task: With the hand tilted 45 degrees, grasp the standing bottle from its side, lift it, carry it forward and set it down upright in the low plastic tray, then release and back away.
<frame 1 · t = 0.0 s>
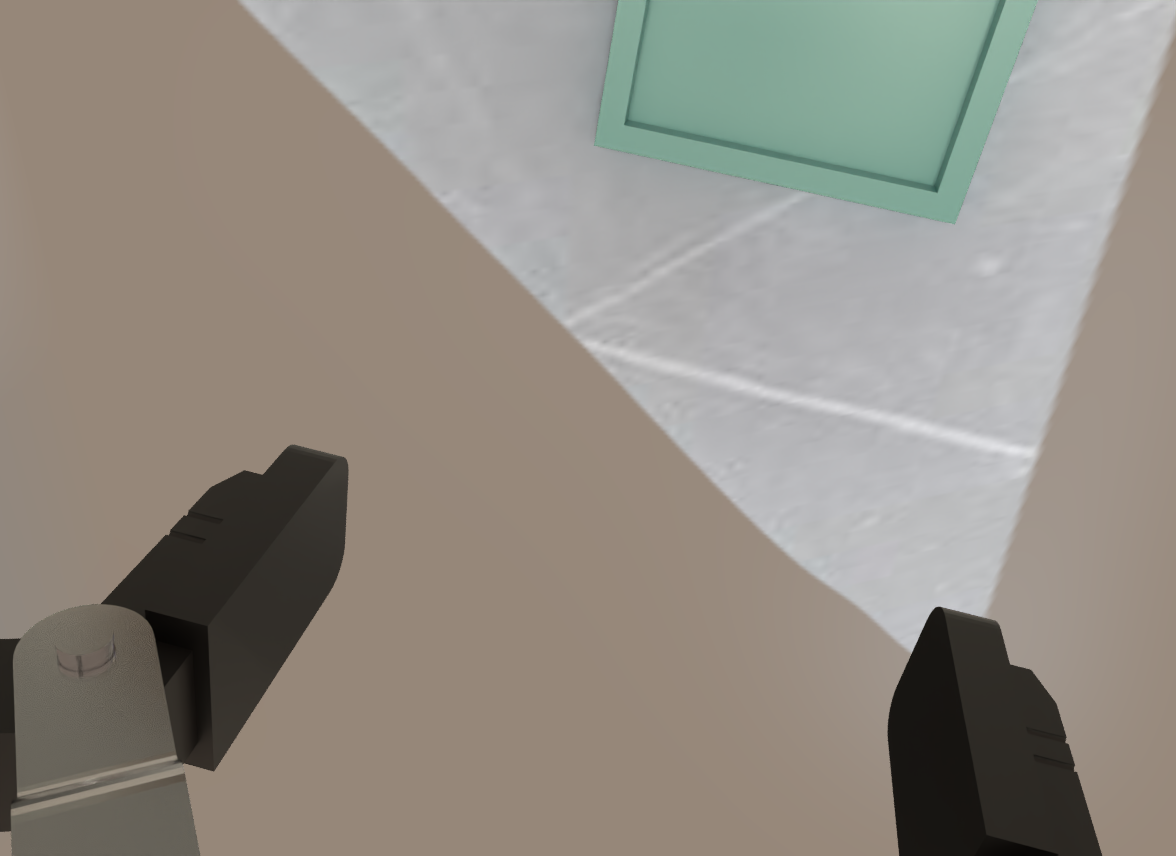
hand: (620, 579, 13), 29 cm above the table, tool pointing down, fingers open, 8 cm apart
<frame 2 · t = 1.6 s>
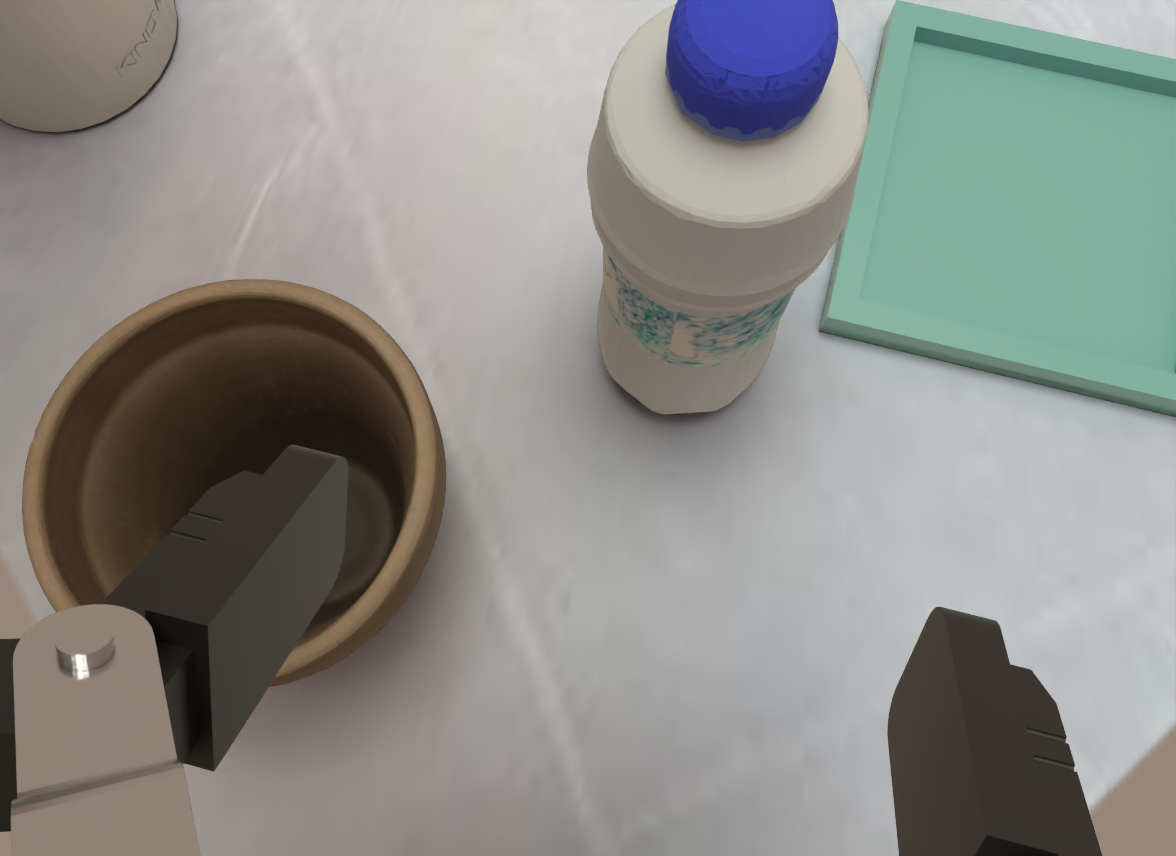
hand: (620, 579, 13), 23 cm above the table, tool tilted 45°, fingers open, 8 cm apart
tray: (1028, 210, 39), on the table
flower pot: (326, 527, 37), on the table
bottle: (679, 349, 38), on the table
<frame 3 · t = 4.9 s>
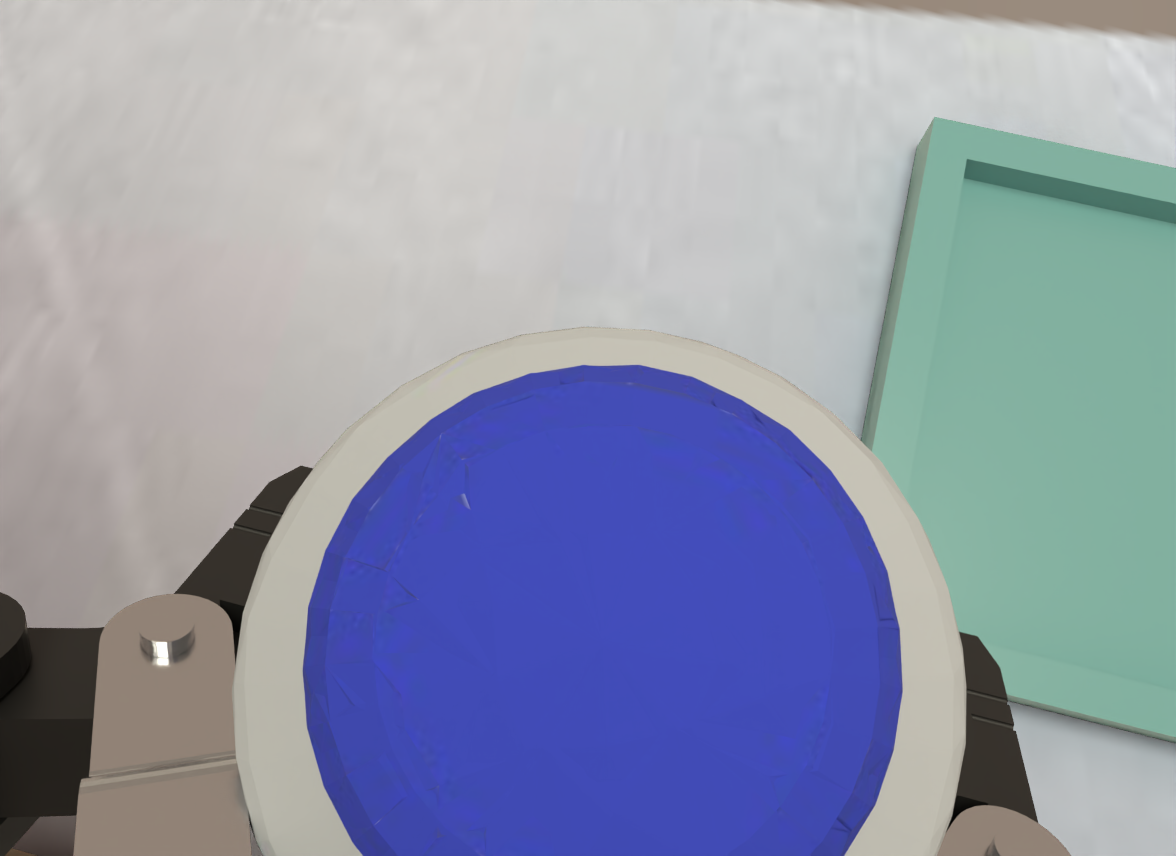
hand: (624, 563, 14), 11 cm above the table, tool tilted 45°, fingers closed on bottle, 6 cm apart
tray: (1146, 447, 25), on the table
bottle: (599, 683, 24), on the table, touching gripper
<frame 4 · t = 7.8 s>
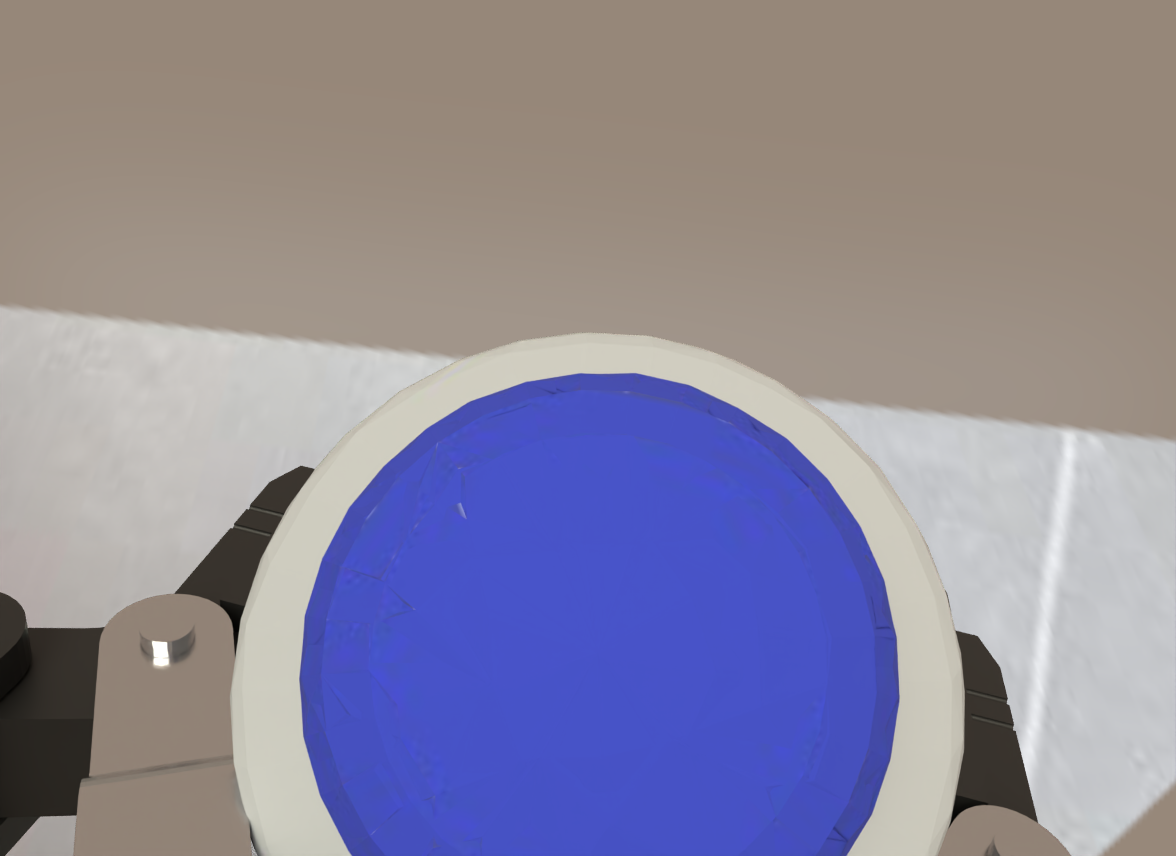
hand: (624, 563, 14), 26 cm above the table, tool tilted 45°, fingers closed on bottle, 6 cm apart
bottle: (599, 685, 24), point 15 cm above the table, touching gripper
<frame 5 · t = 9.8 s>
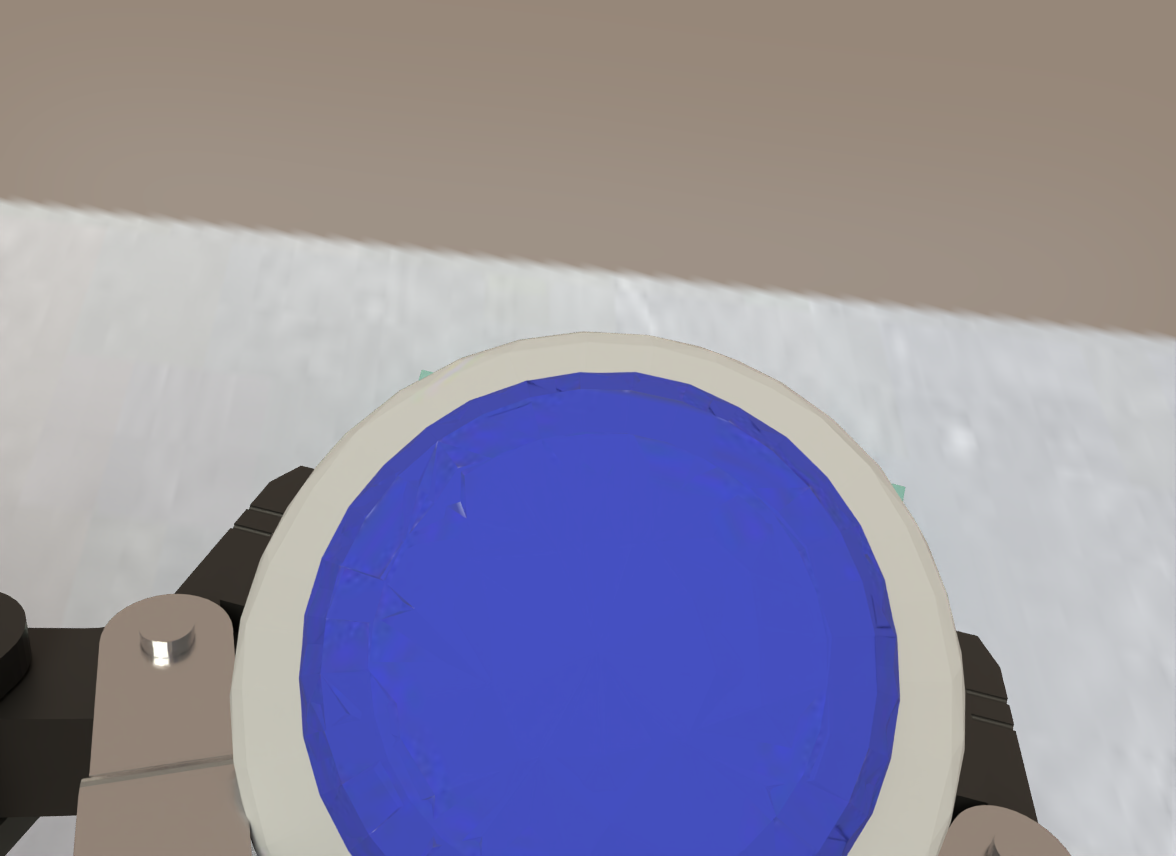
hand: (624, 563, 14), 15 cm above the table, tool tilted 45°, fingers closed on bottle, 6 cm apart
bottle: (599, 685, 24), point 4 cm above the table, touching gripper
when the fingers open (13 cm above the table, at t = 10.9 s): bottle drops 1 cm, resting on tray.
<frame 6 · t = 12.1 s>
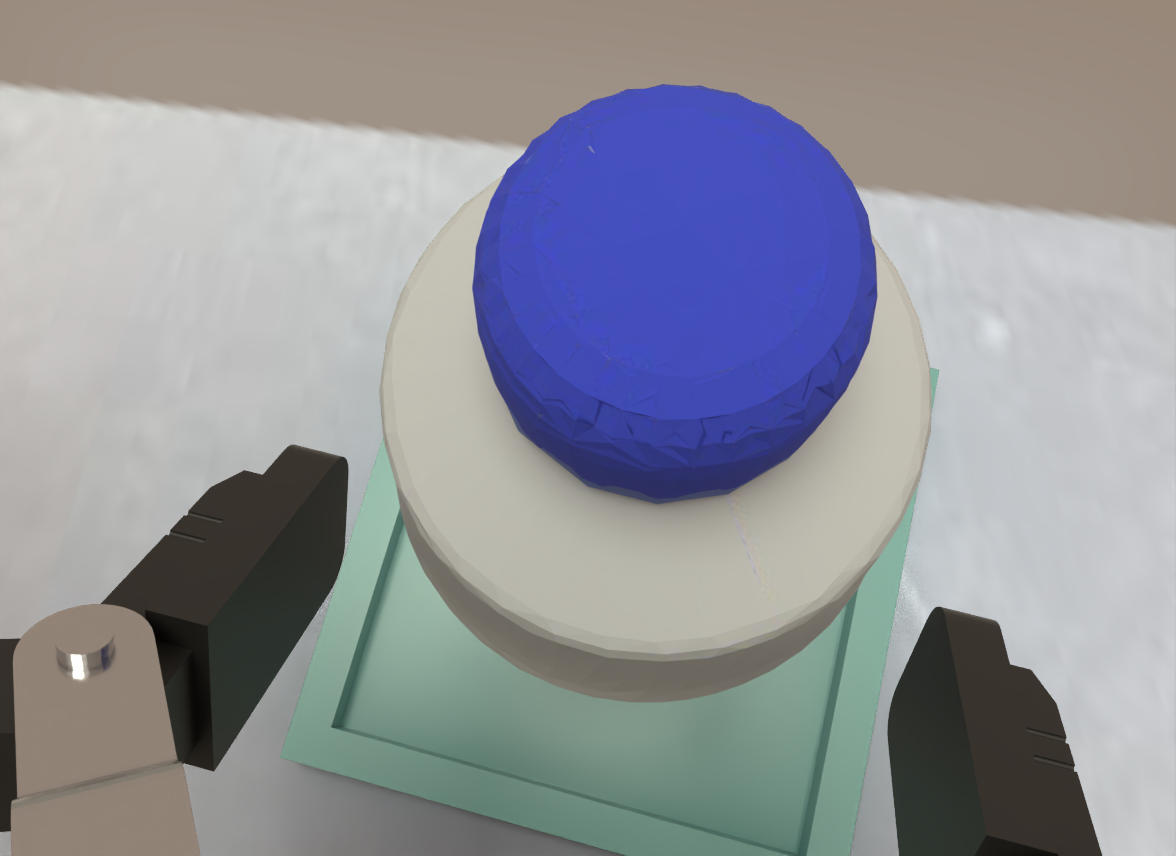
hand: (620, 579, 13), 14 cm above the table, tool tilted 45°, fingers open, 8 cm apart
tray: (622, 561, 27), on the table
bottle: (621, 569, 27), resting on tray
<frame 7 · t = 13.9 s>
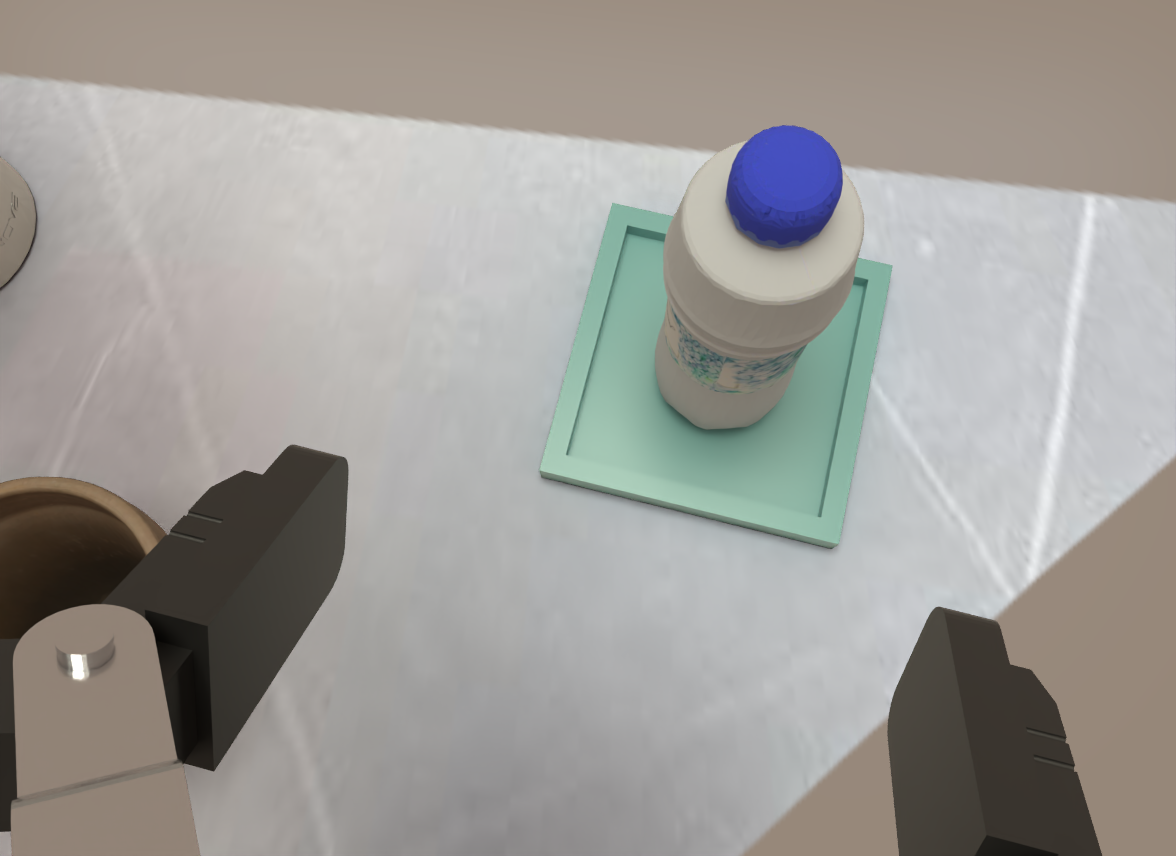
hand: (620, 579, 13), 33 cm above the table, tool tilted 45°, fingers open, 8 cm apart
tray: (716, 375, 49), on the table
flower pot: (140, 641, 46), on the table
bottle: (717, 377, 48), resting on tray
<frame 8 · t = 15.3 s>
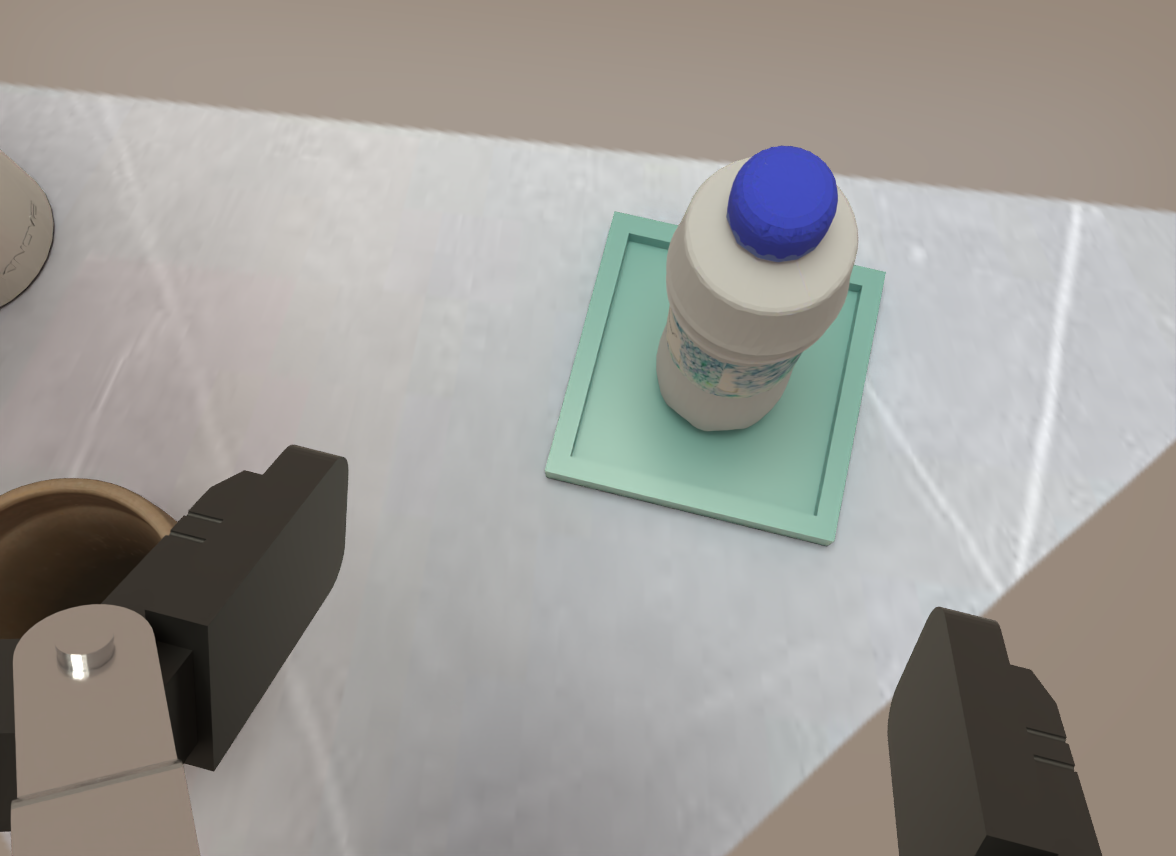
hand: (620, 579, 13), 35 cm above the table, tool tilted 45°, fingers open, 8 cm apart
tray: (715, 378, 50), on the table
flower pot: (159, 637, 48), on the table
bottle: (716, 380, 50), resting on tray
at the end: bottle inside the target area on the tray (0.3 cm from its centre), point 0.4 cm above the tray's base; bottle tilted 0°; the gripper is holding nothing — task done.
